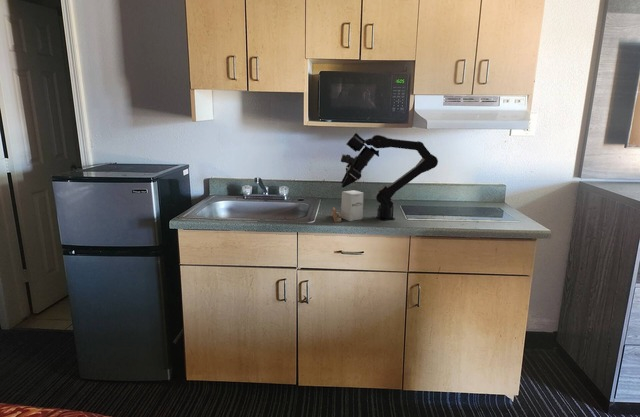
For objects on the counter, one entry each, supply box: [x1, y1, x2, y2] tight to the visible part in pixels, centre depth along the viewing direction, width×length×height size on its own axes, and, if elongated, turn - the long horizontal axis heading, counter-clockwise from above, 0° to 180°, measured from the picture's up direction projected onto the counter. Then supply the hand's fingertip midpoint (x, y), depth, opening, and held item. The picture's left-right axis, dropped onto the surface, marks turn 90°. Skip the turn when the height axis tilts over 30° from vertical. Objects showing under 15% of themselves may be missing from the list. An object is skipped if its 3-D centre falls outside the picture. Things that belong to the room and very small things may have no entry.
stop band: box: [332, 207, 342, 223], centre depth 196 cm, size 3×11×4 cm, turn 4°
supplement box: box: [340, 190, 365, 222], centre depth 195 cm, size 7×7×13 cm
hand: (342, 185), depth 195 cm, fingers open, 9 cm apart
